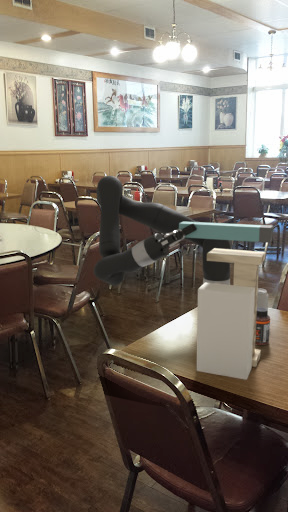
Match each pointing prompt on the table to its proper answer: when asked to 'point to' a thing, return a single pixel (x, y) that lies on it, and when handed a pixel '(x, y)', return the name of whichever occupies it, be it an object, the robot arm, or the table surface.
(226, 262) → the robot arm
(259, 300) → the can
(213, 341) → the base pedestal
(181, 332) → the table surface
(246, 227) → the teal bar
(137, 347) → the table surface
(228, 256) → the beige wooden column stand
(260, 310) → the supplement bottle
